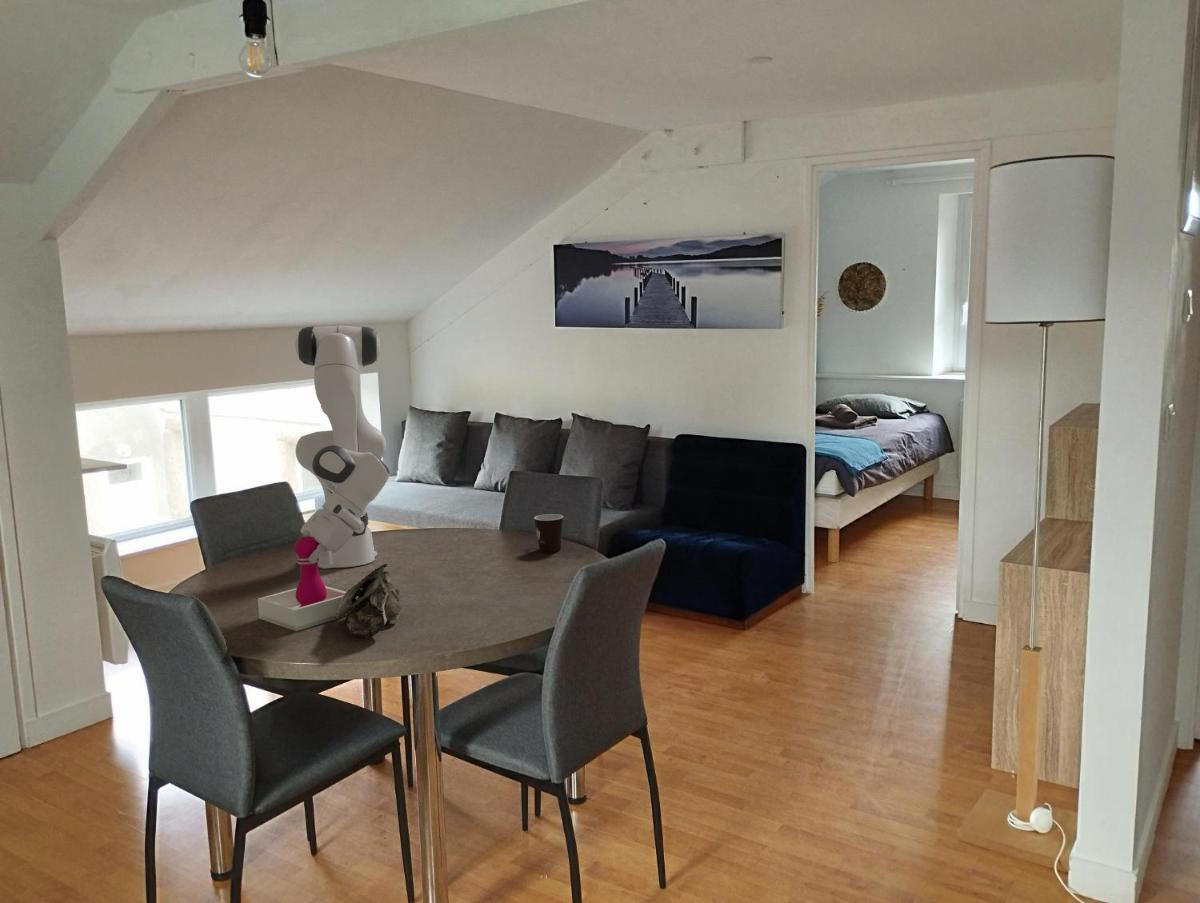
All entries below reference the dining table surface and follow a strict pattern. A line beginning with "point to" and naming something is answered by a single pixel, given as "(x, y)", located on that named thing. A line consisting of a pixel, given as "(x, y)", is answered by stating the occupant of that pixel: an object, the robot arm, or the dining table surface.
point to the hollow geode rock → (370, 604)
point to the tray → (299, 609)
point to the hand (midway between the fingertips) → (303, 557)
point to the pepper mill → (308, 573)
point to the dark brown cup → (549, 532)
